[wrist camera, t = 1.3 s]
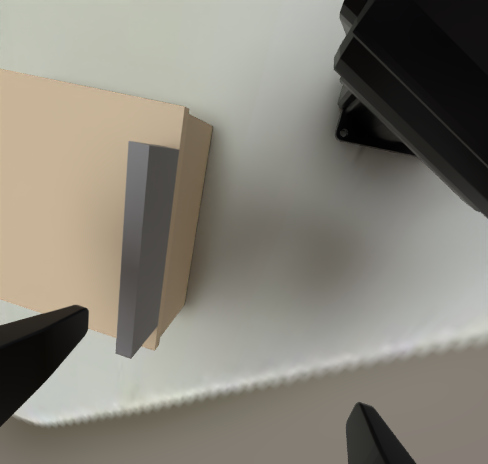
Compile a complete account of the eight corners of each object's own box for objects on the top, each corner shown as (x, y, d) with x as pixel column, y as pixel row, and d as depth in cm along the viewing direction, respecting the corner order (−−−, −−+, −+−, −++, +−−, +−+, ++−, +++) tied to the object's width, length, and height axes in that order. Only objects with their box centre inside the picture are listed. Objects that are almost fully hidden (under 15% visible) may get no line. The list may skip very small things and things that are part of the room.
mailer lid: (189, 109, 13) (154, 89, 10) (158, 344, 18) (128, 386, 15) (-30, 64, 15) (-125, 34, 11) (-3, 291, 20) (-64, 318, 16)
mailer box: (212, 126, 18) (185, 112, 13) (184, 304, 23) (157, 341, 18) (50, 91, 20) (-26, 68, 15) (56, 265, 24) (-1, 290, 20)
